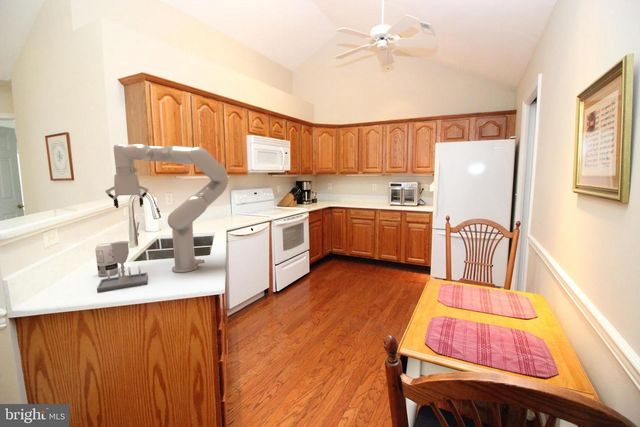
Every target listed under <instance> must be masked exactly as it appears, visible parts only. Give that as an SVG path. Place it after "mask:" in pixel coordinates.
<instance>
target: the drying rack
mask: <svg viewBox="0 0 640 427" xmlns="http://www.w3.org/2000/svg"><path fill="white" fill-rule="evenodd" d="M137 267H138V268H137V269H138V273H134V274H131V272H132V271H131V266H128V267H127V270H128V275H126V276H128V277H129V279H130V280H131V281H130V282H129V283H125V284H118V280H119V278H120V277H122V275H121V268H118V272H117V275H118V276H116V277H115V276H114V277H111V276H110V272H109V270H107V274H108V276H107V278H102V279H100V281H99V284H98V285H97V286H96V292H97V294H100V293H106V292H110V291H111V292H112V291H116V290H117V291H118V290H123V289H130V288H134V287H136V288H137V287H141V286H147V285H148V278H149V277H148V272H142V271H141V266H140V265H138V266H137Z"/></svg>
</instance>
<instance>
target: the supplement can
mask: <svg viewBox="0 0 640 427" xmlns="http://www.w3.org/2000/svg"><path fill="white" fill-rule="evenodd" d="M111 243H112V242H106V243H100V244H99V243H98V244H96V247H95V258H96V265H97V272H98V276H100V277H108V274H107V270H109V272H110V277H111V276H115V275H116V274H117V275H118V269H119V263H118V262H117V261H116V259H115V258H114V256H113V251H112V246H111V245H110V244H111Z"/></svg>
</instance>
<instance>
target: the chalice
mask: <svg viewBox="0 0 640 427" xmlns="http://www.w3.org/2000/svg"><path fill="white" fill-rule="evenodd" d="M110 243H111V244H110V245H111V246H112V251H113V256H114V258H115V259H116V261H117V262H118V264H120V274H122V275H121V276H122V277H120V278H119V280H118V284H125V283H129V282H130V281H131V280H130V279H129V277H128V276H127V275H126V274H125V273H126V270H125V266H124V264H125V263H126V262H127V260H128V257H129V252H130V251H129V243H130V241H127V240H121V241H120V240H119V241H115V242H110Z"/></svg>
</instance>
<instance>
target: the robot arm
mask: <svg viewBox="0 0 640 427" xmlns="http://www.w3.org/2000/svg"><path fill="white" fill-rule="evenodd" d="M113 155H114V165H115V174H114V178H113V184H114V185H113V186H112V187H110V188H108V189H106V190H105V193H106V194H107V195H108V197H109V198H111V199H112V200H113V205H114V207H115V209H118V208H119V200H118V198H119V196H135V195H137V196H138V197H139V199H138V200H139V201H138V202H139V207H141V208H142V207H143V205H144V198H145V196H147V194H148V192H149V189H148V188H147V187H144V186H141V185H140V180H139V177H138V174H137V172H139V168H135V160H137V161H146V162H161V163H168V164H169V163H170V164H179V165H180V164H181V165H195V166H196V167H197V168H198V169H199V170H200V171H201V172H202V173H204V174H205V176H206V177H208V178H209V179H210V180H209V182H208V183H207V184H206V185H205V186H203V188H201V189H200V190H199V191H198V192H196V193H195V194H194V195H191V196H190V197H188V198H187V199H186V200H184V201H183V202H182V203H181V204H180V205H179V206H177V207H176V208H175V209H174V210H173V211H171V212H170V213H169V215H168V216H167V225H168V226H169V228H170V229H172V230H171V231H172V232H171V233H172V246H173V247H172V248H173V257H174V266H172V267H171V271H172V272H173V273H188V272H189V273H190V272H192V271H195V270H197V269H198V268H199V266H200V265H199V264H205V262H206V261H205V259H202V258H201V259H200V258H199V259H196V257H195V245H194V228H193V226H194V223H193V222H195V220H196V219H198V218H200V217H201V215H203V213H205V212H206V210H207V209H208V208H209V206H211V205H212V204H213V203H214V202H215V201H216V200H217V199H218V198H219V197H221V195H222V194H223V193H224V192H225V191H226V189H227V186H228V184H229V176H228V172H227V169H226V168H225V167H224V166H223V165H222V164H221V163H220V162H219V161H217V160H216V158H214V157H213V156H212V155H211V154H210V153H209V151H208V150H207V149H206V148H204V147H203V146H182V145H170V146H158V145H157V146H156V145H155V146H154V145H146V144H143V143H133V144H127V143H126V144H125V143H124V144H121V143H119V144H114V145H113ZM141 190H143V193H142V194H141ZM112 191H114V194H112V193H111V192H112Z"/></svg>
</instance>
